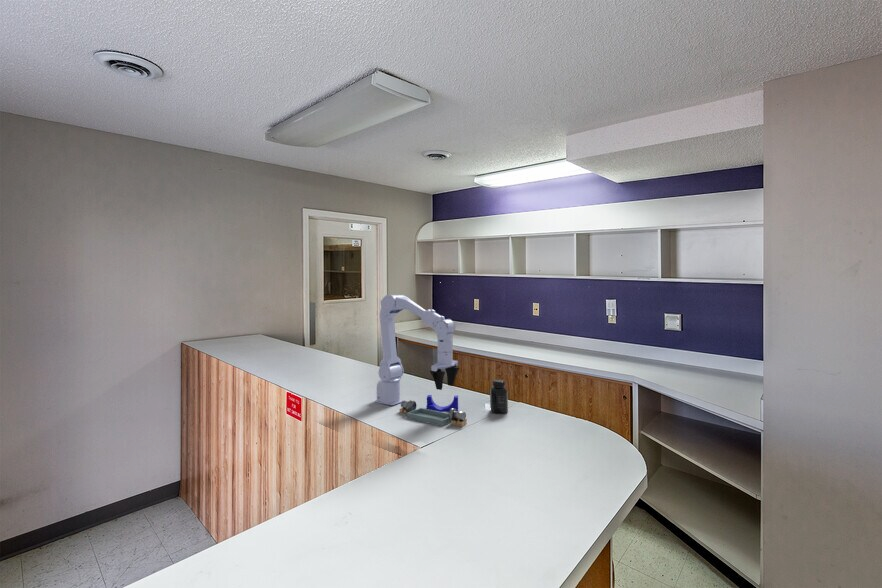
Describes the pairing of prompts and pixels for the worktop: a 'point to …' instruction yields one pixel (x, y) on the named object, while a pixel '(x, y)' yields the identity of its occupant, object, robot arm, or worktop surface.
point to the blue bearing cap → (435, 407)
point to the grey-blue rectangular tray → (429, 416)
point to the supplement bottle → (498, 397)
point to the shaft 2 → (457, 417)
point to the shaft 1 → (407, 406)
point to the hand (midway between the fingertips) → (445, 387)
